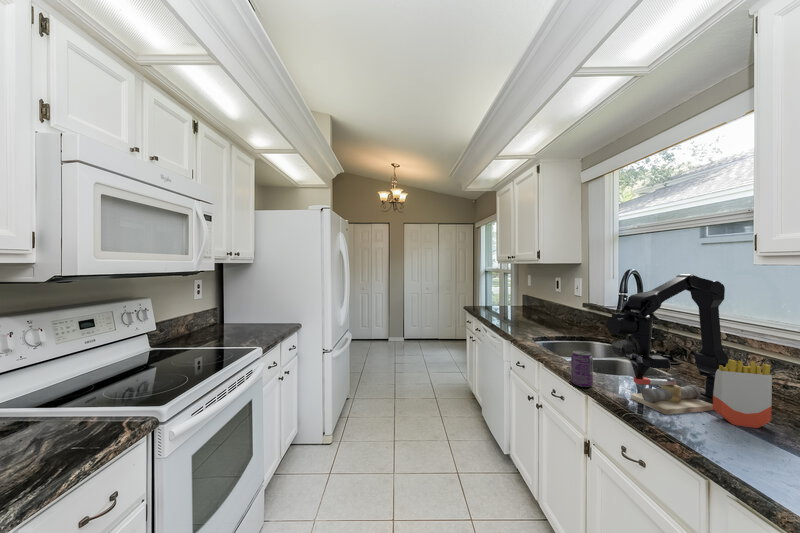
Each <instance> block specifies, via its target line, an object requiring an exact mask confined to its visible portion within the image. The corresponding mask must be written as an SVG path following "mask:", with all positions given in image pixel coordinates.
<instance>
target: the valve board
mask: <svg viewBox="0 0 800 533" xmlns="http://www.w3.org/2000/svg"><path fill="white" fill-rule="evenodd" d="M700 397H701V391H700V390H699V388H698V387H697V386H695V385H693V384H687V385H685V386H679V385H677V384H676V385H674V386H670V385H662V384H661V388H650V387H645V388H643V389H642V390H641V393H640V392H639V393H631V394H630V399H632V400H633V401H635V402H637V403H639V404H642V405H643V406H645V407H646V406H647V407H649V408H651V409H653V410H655V411H657V412H660V413H661V414H665V415H676V414H677V415H678V414H686V413H696V412H708V411H709V412H710V411H715V410H714V409H713V403H710V402H708V401H704V400H702V399H700Z"/></svg>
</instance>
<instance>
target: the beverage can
mask: <svg viewBox="0 0 800 533" xmlns="http://www.w3.org/2000/svg"><path fill="white" fill-rule="evenodd" d="M570 359H571V360H570V382H571V383H572V384H573V385H575V386H577V387H581V388H589V387H591V386H593V384H594V382H593V381H594V358H593V356H592V353H591V352H590V351H586V350H573V351H572V354H571V357H570Z"/></svg>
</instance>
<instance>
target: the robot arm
mask: <svg viewBox="0 0 800 533" xmlns="http://www.w3.org/2000/svg"><path fill="white" fill-rule="evenodd" d="M684 291H688V292H690V296H691V299H692V300H693V302H694V303H695V304H696V305H697V307H698V316H699V327H700V328H699V330H700V341H701V349H700V350H699V351H698V352H695V353H694V364H695V365H696V367H697V370H698V373H699V375H700V376H703V377H705V384H704V385H705V386H704V388H705V389H704V391H700V395H703V396H705V397H706V396H707V397H710V398H712V399H713V391H714V382H715V374H716V371H717V369H719V365H722V366H723V367H726V363H727V364H728V359H729V360H730V357H729V356H728V355H727V353H726V352H725V351H724V349H723V345H722V344H723V343H722V342H723V341H722V334H721V333H722V332H721V322H720V310H719V308H720V305H722V303H723V302H724V301H725V294H726V293H725V292H726V287H725V285H724V283H722V282H720V281H718V280H710V279H708V278H707V279H706V278H702V277H700V276H697V275H694V274H686V273H685V274H678V275H675V277H673V278H672V279H670V280H668V281H666V282H665V283H663V284H660V285H659V286H656V287H655V288H653V289H651V290H648V291H643V292H638V293H635V294H631V295H630V296H629V297H628V298H627V301H626V302H625V303H624V305H623V307H622V308H621V310H620V311H619V313H618V312H612V313H611V316H609V318H608V319H607V321H606V329H607V330H608V332H609V333H610V334H612V335H626V336H625V339H623V340H622V339H621V340H618V341H615V342H612V343H610V346H611V350H612V353H613V354H614V355H616V356H618V357H620V358H624V359H626V360H628V361H629V363H630V364H631V367H632V369H633V373H634V377H644V375H646V372H647V371H648V370H649V369H664V370H666V369H668V370H670V369H671V367H672V366H671V364H672V362H671V360H670V359H668V358H666V357H664V356H661V355H655V350H652V343H656V338H655V337H652V336H653V335H652V334H653V321H655V322H656V321H657V322H658V321H659V317H657V316H656V315H655V314H654V313H655V312H656V311H657V310H659V309H660V308H661V306H662V304H663V303H665V301H668V300H669V299H671V298H673V297H674V296H677V295H678V294H680V293H682V292H684Z"/></svg>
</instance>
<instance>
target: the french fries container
mask: <svg viewBox="0 0 800 533" xmlns="http://www.w3.org/2000/svg"><path fill="white" fill-rule="evenodd" d="M743 363H744V362H743V360H734V359H730V358H729V359H728V364H727V363H726V367H723V366H722V365H719V369H717V371H716V374H715V382H714V391H713V398H712V405H713V409H714V410H713V411H715V413H717V414H718V415H719V416H721V417H722V418H723V419H724V420H726V421H727V422H729V423H730V424H732V425H733V426H738V427H745V428H755V429H756V428H757V429H759V428H761V427H762V426H764V425H766V424H768V423H769V422H772V401H773V400H772V399H773V398H772V396H773V395H772V394H773V392H772V391H773V389H772V387H773V386H772V385H773V375H772V374H770V373H771V365H770V364H766V363H763V364H762V366H761V365H757V364H756V362H755V361H751V360H750V363H749V364H750V365H749V366H747V365H746V366H745V365H744V364H743ZM761 368H762V369H761Z"/></svg>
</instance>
